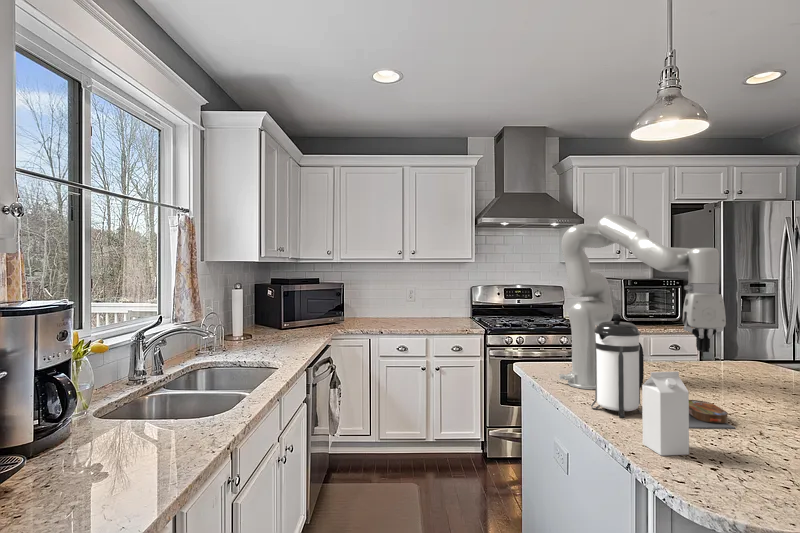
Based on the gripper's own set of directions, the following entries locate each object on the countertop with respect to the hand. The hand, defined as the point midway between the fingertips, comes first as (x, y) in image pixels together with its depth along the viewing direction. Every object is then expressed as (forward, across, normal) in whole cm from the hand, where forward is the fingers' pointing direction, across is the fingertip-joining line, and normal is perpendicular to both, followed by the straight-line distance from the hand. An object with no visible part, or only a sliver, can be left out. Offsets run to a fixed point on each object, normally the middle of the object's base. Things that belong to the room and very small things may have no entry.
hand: (702, 351), depth 136 cm
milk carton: (+20, -24, -26) cm, 40 cm away
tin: (+18, +4, -1) cm, 19 cm away
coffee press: (+20, -22, +5) cm, 30 cm away
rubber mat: (+19, -4, -1) cm, 20 cm away
